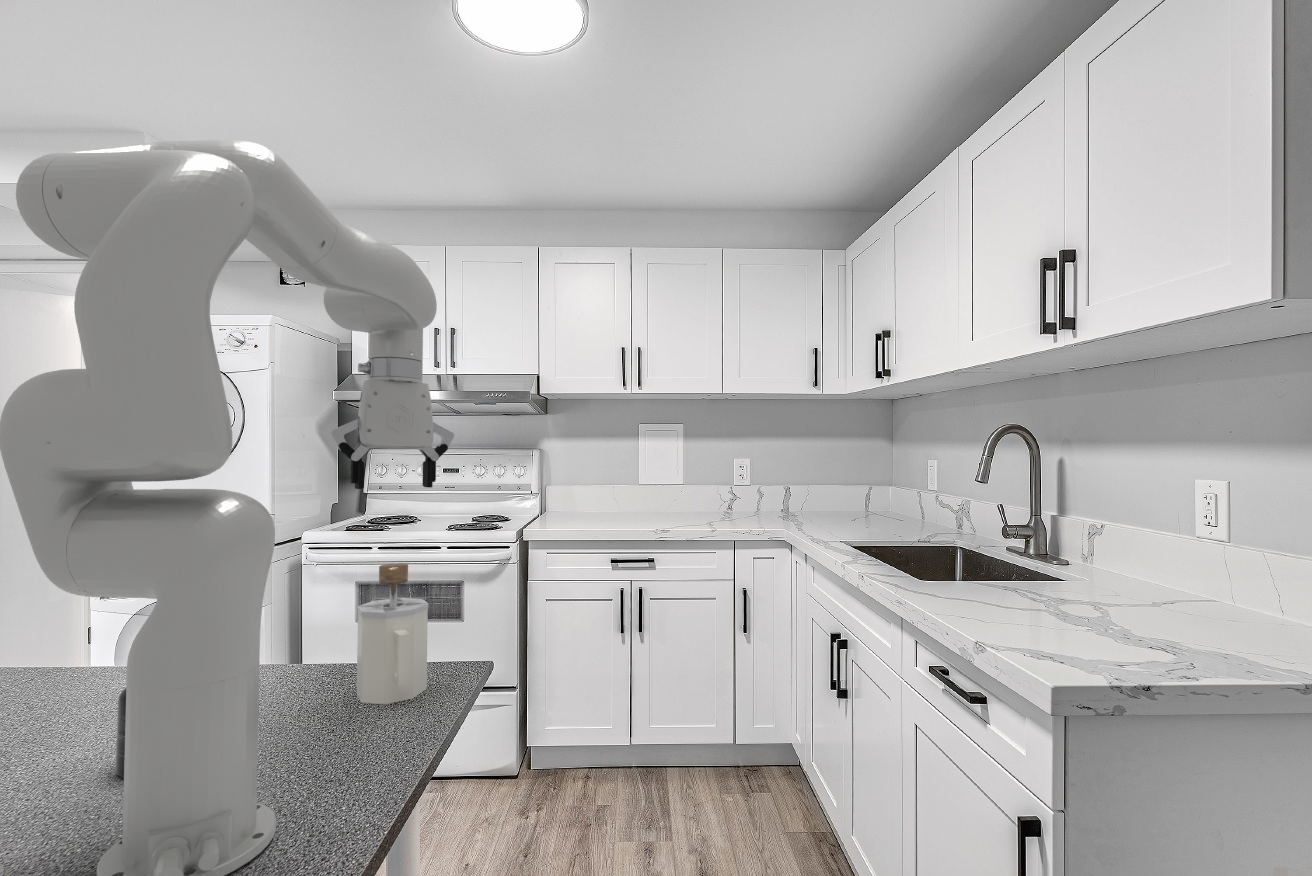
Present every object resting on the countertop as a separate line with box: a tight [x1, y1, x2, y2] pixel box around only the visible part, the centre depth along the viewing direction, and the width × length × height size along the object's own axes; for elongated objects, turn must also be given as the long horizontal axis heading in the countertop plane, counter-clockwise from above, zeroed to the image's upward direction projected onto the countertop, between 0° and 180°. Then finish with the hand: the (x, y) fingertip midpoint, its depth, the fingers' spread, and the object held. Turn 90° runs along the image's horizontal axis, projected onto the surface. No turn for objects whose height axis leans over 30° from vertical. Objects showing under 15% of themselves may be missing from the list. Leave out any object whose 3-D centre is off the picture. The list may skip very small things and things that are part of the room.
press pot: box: [356, 597, 429, 705], centre depth 93 cm, size 12×9×13 cm
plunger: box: [378, 562, 409, 607], centre depth 95 cm, size 4×4×17 cm
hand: (394, 487), depth 95 cm, fingers open, 9 cm apart
